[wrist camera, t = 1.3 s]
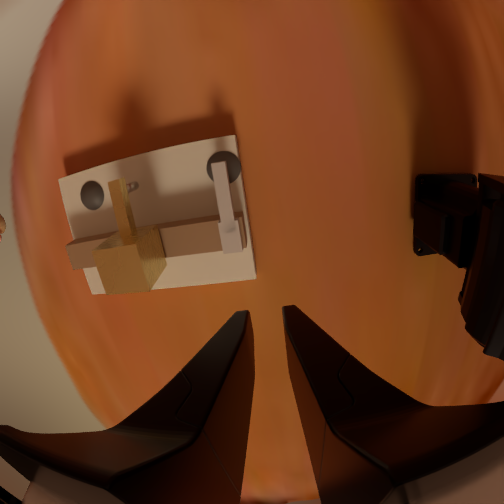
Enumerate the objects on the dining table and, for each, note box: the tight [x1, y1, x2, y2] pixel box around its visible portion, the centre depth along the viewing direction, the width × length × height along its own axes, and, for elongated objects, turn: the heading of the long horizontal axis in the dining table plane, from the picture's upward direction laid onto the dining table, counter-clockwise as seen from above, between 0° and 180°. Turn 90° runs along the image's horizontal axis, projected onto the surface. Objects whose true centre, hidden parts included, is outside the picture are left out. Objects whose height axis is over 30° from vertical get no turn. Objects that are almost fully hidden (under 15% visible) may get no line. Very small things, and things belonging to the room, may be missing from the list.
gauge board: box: [58, 135, 256, 294], centre depth 19 cm, size 14×10×3 cm
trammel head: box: [91, 177, 167, 295], centre depth 16 cm, size 3×6×5 cm, turn 8°
